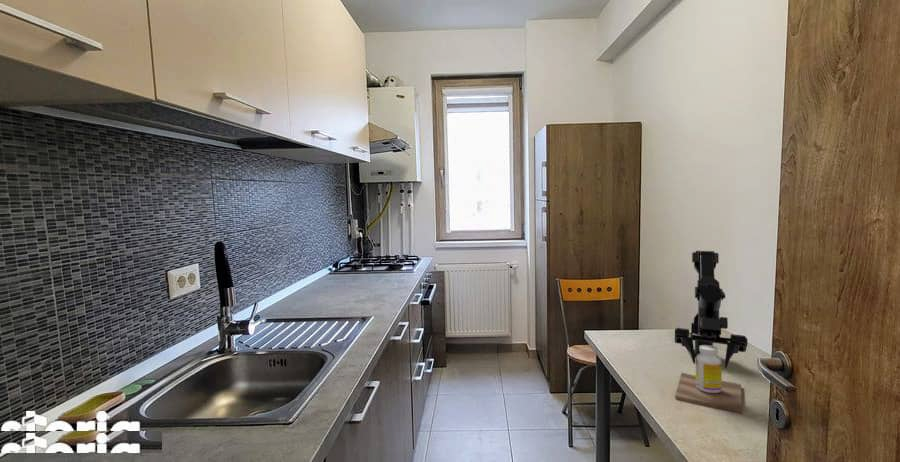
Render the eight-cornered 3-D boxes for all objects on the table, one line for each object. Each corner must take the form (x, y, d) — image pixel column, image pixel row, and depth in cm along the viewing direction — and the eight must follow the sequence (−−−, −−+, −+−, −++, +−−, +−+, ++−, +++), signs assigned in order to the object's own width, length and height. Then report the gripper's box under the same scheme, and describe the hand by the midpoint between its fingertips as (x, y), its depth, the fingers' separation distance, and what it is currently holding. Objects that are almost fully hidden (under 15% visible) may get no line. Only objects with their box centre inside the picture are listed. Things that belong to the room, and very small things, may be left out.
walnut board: (681, 375, 137) (681, 372, 137) (740, 387, 128) (740, 384, 128) (675, 398, 122) (675, 395, 122) (741, 413, 113) (741, 410, 113)
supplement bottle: (727, 391, 123) (727, 349, 122) (709, 395, 121) (709, 352, 120) (707, 382, 129) (707, 342, 128) (690, 386, 127) (690, 345, 126)
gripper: (675, 302, 130) (674, 348, 122) (747, 309, 121) (752, 359, 113) (675, 320, 138) (674, 364, 129) (743, 327, 129) (747, 375, 120)
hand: (709, 365), depth 123 cm, fingers open, 8 cm apart
